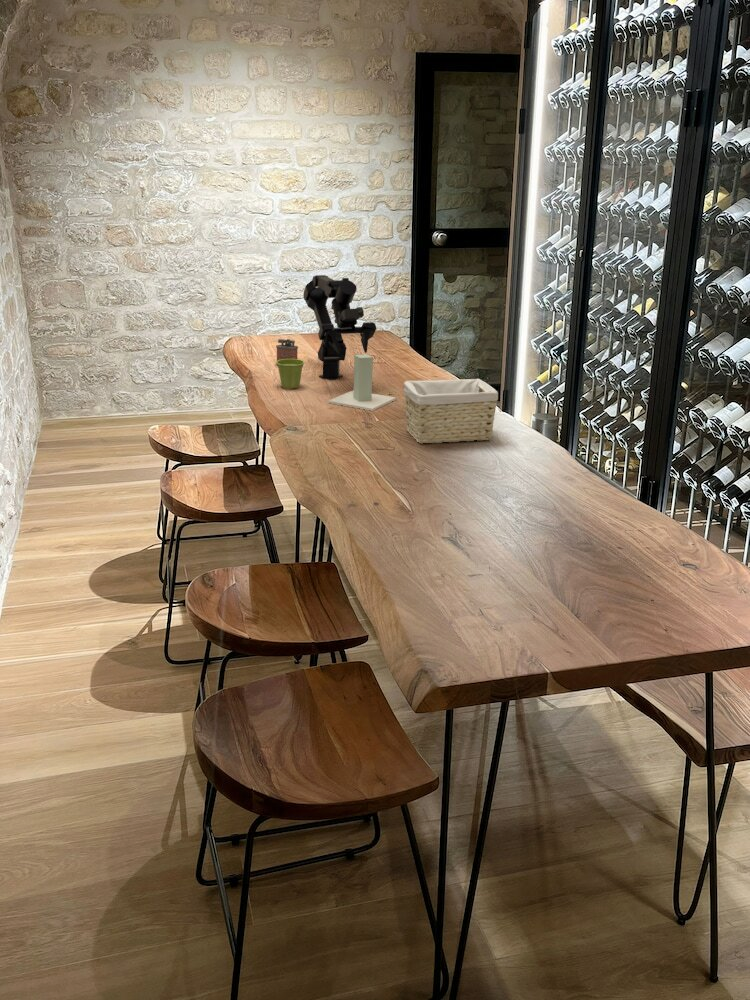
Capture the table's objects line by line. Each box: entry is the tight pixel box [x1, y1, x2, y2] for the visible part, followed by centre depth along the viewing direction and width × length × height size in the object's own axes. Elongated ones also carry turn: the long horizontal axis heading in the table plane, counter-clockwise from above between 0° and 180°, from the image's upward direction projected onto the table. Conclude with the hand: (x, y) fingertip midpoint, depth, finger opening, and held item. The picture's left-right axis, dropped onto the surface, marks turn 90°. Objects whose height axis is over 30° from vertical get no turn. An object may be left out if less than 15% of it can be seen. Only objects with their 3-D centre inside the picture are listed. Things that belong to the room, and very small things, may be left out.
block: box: [353, 353, 374, 401], centre depth 277 cm, size 4×4×14 cm
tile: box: [327, 389, 397, 412], centre depth 279 cm, size 16×16×1 cm
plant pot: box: [275, 358, 305, 390], centre depth 292 cm, size 9×9×9 cm
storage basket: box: [403, 378, 499, 445], centre depth 246 cm, size 24×16×15 cm
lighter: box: [275, 338, 299, 367], centre depth 320 cm, size 8×3×10 cm, turn 84°
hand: (352, 352), depth 284 cm, fingers open, 9 cm apart
